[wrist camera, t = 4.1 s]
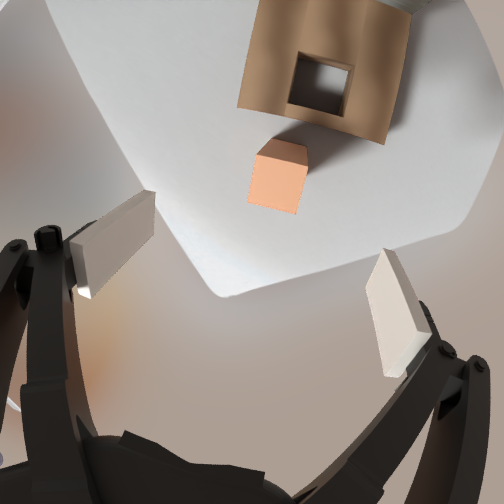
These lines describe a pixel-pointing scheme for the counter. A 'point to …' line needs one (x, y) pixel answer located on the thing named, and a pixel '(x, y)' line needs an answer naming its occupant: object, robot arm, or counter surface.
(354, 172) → the counter surface
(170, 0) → the counter surface
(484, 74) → the counter surface
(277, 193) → the peg
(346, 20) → the socket stand
